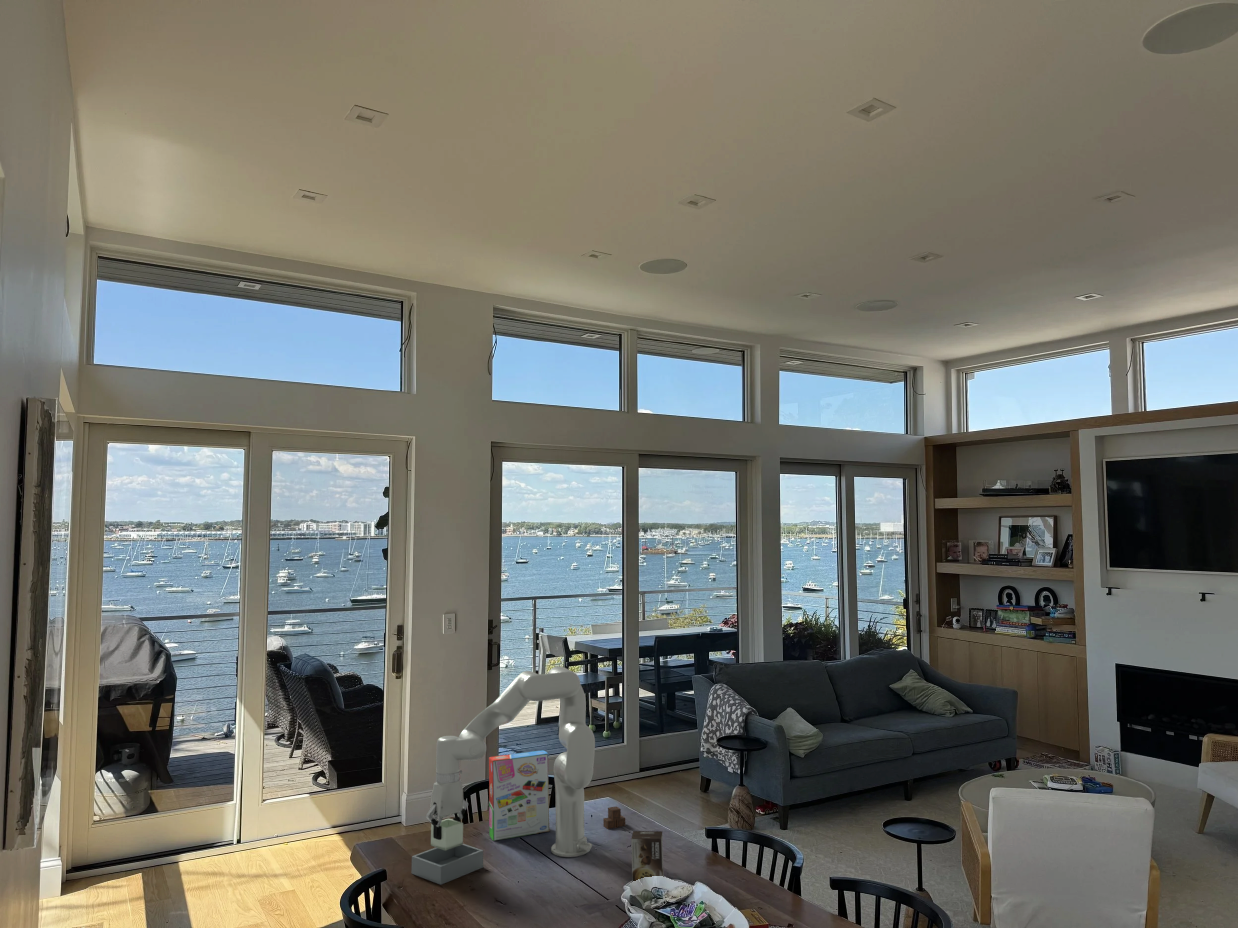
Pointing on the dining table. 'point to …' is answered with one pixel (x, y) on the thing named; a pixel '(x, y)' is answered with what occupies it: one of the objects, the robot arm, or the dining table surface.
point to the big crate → (447, 863)
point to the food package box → (647, 854)
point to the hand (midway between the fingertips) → (447, 834)
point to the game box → (518, 794)
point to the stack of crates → (614, 818)
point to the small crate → (448, 835)
